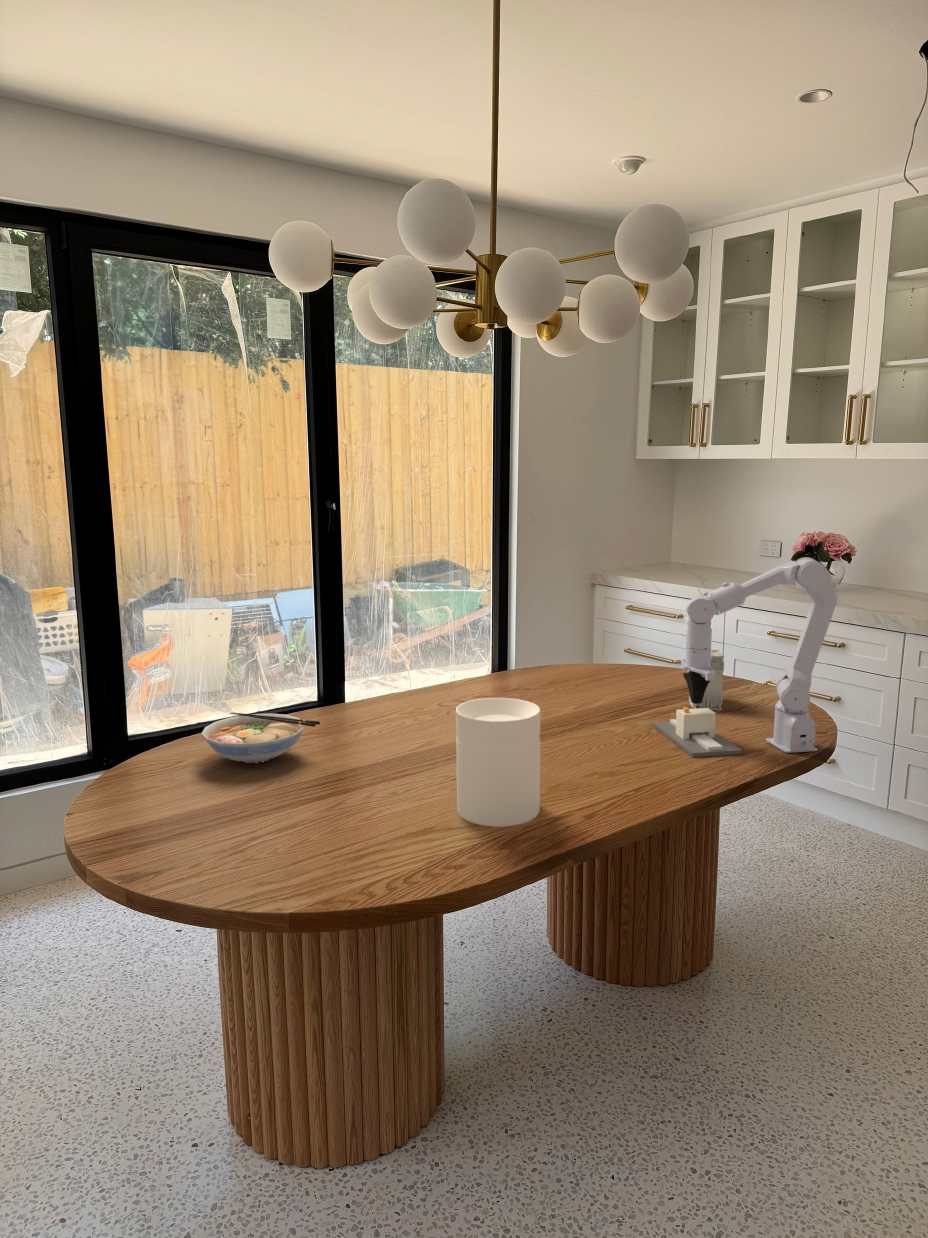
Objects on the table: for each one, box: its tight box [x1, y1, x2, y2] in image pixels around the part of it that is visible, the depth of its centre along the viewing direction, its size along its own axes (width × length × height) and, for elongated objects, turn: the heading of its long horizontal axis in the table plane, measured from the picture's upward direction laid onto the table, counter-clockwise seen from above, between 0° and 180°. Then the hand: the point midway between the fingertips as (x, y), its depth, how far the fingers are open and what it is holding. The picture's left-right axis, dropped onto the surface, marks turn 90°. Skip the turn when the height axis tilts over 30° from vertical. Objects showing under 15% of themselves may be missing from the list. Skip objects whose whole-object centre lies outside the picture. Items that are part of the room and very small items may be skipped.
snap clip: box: [689, 732, 702, 736], centre depth 198 cm, size 3×2×1 cm
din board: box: [651, 718, 743, 758], centre depth 198 cm, size 24×12×2 cm, turn 9°
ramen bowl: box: [201, 711, 321, 764], centre depth 187 cm, size 25×23×8 cm
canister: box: [455, 697, 541, 828], centre depth 156 cm, size 16×16×20 cm
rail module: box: [675, 706, 717, 739], centre depth 198 cm, size 4×8×7 cm, turn 99°
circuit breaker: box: [686, 649, 725, 711], centre depth 229 cm, size 8×14×15 cm, turn 174°
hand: (696, 702), depth 197 cm, fingers closed
